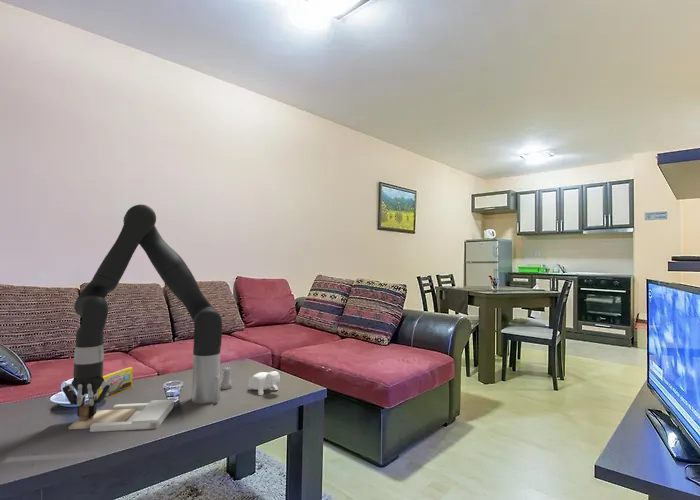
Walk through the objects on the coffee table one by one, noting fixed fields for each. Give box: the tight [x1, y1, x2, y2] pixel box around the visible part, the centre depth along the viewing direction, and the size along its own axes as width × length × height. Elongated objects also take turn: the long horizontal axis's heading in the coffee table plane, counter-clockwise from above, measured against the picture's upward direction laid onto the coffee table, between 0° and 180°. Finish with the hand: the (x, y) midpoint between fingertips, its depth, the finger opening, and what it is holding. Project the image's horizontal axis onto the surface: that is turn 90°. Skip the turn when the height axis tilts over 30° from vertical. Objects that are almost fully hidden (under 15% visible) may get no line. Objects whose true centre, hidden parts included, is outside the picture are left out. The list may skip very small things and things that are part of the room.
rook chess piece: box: [220, 366, 233, 390], centre depth 153 cm, size 4×4×8 cm
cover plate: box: [68, 401, 136, 430], centre depth 118 cm, size 14×12×5 cm
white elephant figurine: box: [247, 370, 281, 396], centre depth 149 cm, size 9×8×15 cm
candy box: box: [97, 366, 134, 399], centre depth 143 cm, size 16×2×8 cm, turn 168°
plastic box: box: [89, 399, 175, 433], centre depth 119 cm, size 18×17×3 cm
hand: (86, 417), depth 117 cm, fingers closed on cover plate
